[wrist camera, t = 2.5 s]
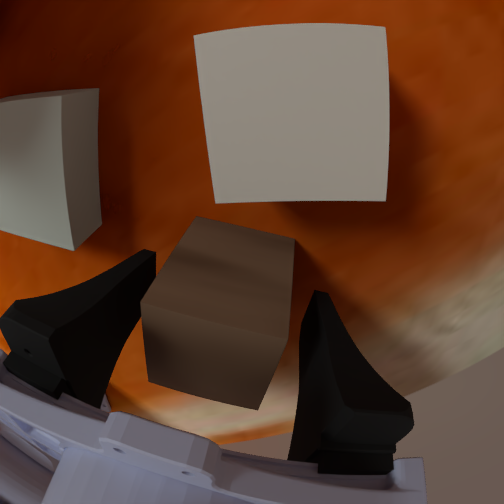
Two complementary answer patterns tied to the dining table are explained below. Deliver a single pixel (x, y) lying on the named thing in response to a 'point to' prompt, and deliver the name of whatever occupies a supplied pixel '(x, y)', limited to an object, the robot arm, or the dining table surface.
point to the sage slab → (50, 166)
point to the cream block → (296, 112)
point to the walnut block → (220, 313)
